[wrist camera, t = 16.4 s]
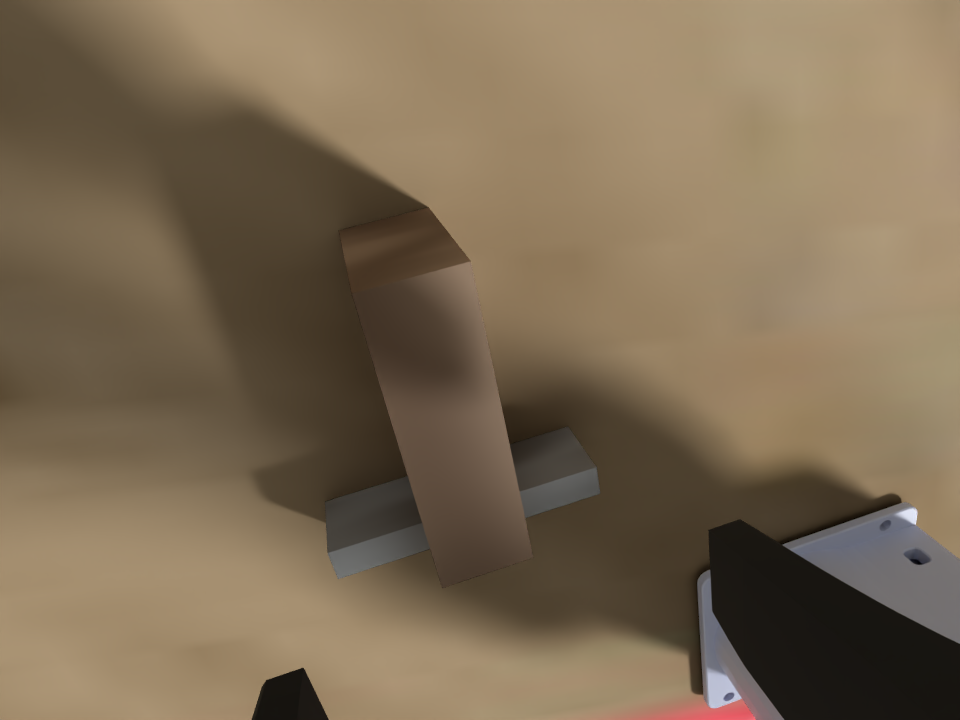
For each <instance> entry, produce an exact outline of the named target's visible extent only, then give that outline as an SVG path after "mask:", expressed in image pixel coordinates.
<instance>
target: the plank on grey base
mask: <svg viewBox="0 0 960 720" xmlns="http://www.w3.org/2000/svg"><path fill="white" fill-rule="evenodd" d="M339 234H340V239H341V244H342V249H343V254H344V259H345V264H346V268H347V273H348V278H349V283H350V288H351V293H352V297H353V300H354V303H355V306H356V310H357V313H358V316H359V319H360V323H361V326H362V329H363V332H364V336H365V339H366V342H367V345H368V349H369V352H370V355H371V358H372V362H373V365H374V368H375V371H376V375H377V378H378V381H379V384H380V387H381V391H382V394H383V397H384V400H385V404H386V407H387V410H388V413H389V417H390V420H391V423H392V426H393V430H394V433H395V436H396V439H397V443H398V446H399V449H400V452H401V456H402V459H403V462H404V465H405V469H406V472H407V475H408V476H406V477H403V478H400V479H397V480H393V481H390V482H387V483H384V484H380V485H377V486H374V487H371V488H368V489H364V490H361V491H358V492H355V493H351V494H348V495H345V496H342V497H338V498H335V499H332V500H329V501H325V511H326V530H327V550H328V555H329V558H330V560H331V563H332V565H333V567H334V570H335V572H336V575H337V577H338V579H339V578H343V577H346V576H349V575H352V574H355V573H358V572H361V571H364V570H367V569H370V568H373V567H376V566H379V565H383V564H386V563H389V562H392V561H395V560H398V559H401V558H404V557H407V556H410V555H413V554H416V553H419V552H422V551H426V550H429V549H430V550H431V553H432V556H433V560H434V563H435V566H436V569H437V573H438V576H439V579H440V582H441V586H442V588H444V587H447V586H450V585H453V584H456V583H459V582H462V581H465V580H468V579H471V578H474V577H477V576H480V575H483V574H486V573H489V572H492V571H495V570H498V569H501V568H504V567H507V566H510V565H513V564H516V563H519V562H522V561H525V560H528V559H531V558H534V557H533V553H532V548H531V543H530V539H529V534H528V529H527V524H526V520H525V518H527V517H530V516H533V515H536V514H539V513H542V512H545V511H549V510H552V509H555V508H558V507H561V506H564V505H567V504H570V503H573V502H576V501H579V500H582V499H585V498H588V497H592V496H595V495H598V494H600V488H599V481H598V474H597V467H596V466H595V464H594V463H593V461H592V460H591V458H590V457H589V456H588V454H587V453H586V451H585V450H584V448H583V447H582V446H581V444H580V443H579V441H578V440H577V438H576V437H575V436H574V434H573V433H572V431H571V430H570V428H569V427H565V428H561V429H558V430H555V431H552V432H549V433H545V434H542V435H539V436H536V437H532V438H529V439H526V440H523V441H519V442H516V443H513V444H509V439H508V435H507V430H506V425H505V420H504V416H503V411H502V406H501V402H500V397H499V392H498V387H497V383H496V378H495V373H494V369H493V364H492V359H491V354H490V350H489V345H488V340H487V335H486V331H485V326H484V321H483V317H482V312H481V307H480V302H479V298H478V293H477V288H476V283H475V279H474V274H473V269H472V265H471V261H470V260H469V258H468V257H467V256H466V255H465V253H464V252H463V251H462V249H461V248H460V247H459V246H458V244H457V243H456V242H455V241H454V239H453V238H452V237H451V235H450V234H449V233H448V232H447V230H446V229H445V228H444V227H443V225H442V224H441V223H440V221H439V220H438V219H437V218H436V216H435V215H434V214H433V213H432V211H431V210H430V209H429V207H428V208H424V209H420V210H416V211H412V212H408V213H405V214H401V215H397V216H393V217H389V218H385V219H381V220H377V221H374V222H370V223H366V224H362V225H358V226H354V227H350V228H346V229H343V230H339Z"/></svg>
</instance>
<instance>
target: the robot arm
mask: <svg viewBox="0 0 960 720" xmlns="http://www.w3.org/2000/svg"><path fill="white" fill-rule="evenodd" d="M916 519H917V509H916V508H915V507H913V506H912V505H911V504H909V503H907V502H905V503H900V504H897V505H894V506H891V507H888V508H885V509H883V510H880V511H877V512H874V513H871V514H868V515H865V516H862V517H860V518H857V519H854V520H851V521H848V522H845V523H842V524H839V525H837V526H834V527H831V528H828V529H825V530H822V531H819V532H816V533H814V534H811V535H808V536H805V537H802V538H799V539H796V540H793V541H791V542H788V543H785V544H782V545H781V544H780V543H778V542H776V541H775V540H773V539H772V538H770V537H768V536H767V535H765V534H763V533H762V532H760V531H759V530H757V529H755V528H754V527H752V526H750V525H749V524H747V523H745V522H744V521H742V520H737V521H734V522H731V523H728V524H725V525H722V526H719V527H716V528H713V529H710V530H709V552H710V570H707V571H705V572H704V573H703V574H701V575H700V577H699V579H698V582H697V588H698V606H699V624H700V642H701V660H702V677H703V695H704V700H705V702H706V703H707V705H708V706H709V707H710V708H718V707H721V706H723V705H726V704H729V703H731V702H734V701H737V700H739V699H743V701H744V702H745V704H746V705H747V707H748V708H749V710H750V711H751V713H752V714H753V716H754V717H755V719H756V720H960V559H958V558H957V557H956V556H955V555H953V554H952V553H951V552H949V551H948V550H947V549H946V548H944V547H943V546H942V545H941V544H939V543H938V542H937V541H935V540H934V539H933V538H932V537H930V536H929V535H928V534H926V533H925V532H924V531H923V530H921V529H920V528H919V527H918V526H916ZM252 720H329V719H328V717H327V715H326V713H325V711H324V709H323V707H322V705H321V703H320V701H319V699H318V697H317V695H316V692H315V690H314V688H313V686H312V684H311V682H310V680H309V678H308V676H307V674H306V672H305V670H304V668H301V669H298V670H295V671H292V672H289V673H286V674H283V675H280V676H277V677H274V678H272V679H269V680H266V682H265V683H264V685H263V686H262V688H261V691H260V695H259V698H258V701H257V704H256V708H255V711H254V714H253V717H252Z"/></svg>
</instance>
